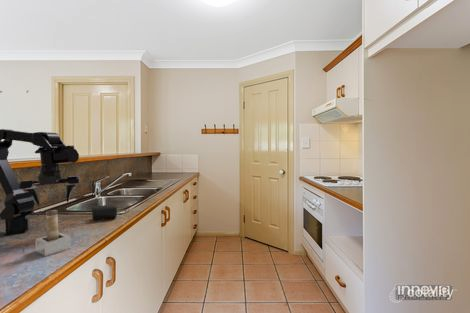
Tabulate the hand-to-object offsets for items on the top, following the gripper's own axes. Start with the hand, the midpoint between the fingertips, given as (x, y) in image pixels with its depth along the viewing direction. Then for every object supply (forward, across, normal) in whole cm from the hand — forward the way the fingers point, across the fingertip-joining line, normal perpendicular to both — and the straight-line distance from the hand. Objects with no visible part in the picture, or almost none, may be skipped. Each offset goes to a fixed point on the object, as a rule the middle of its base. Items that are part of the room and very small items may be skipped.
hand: (53, 203), depth 95 cm
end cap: (+13, +16, +13) cm, 24 cm away
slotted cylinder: (+13, +3, -18) cm, 22 cm away
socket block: (+13, +3, -18) cm, 22 cm away
